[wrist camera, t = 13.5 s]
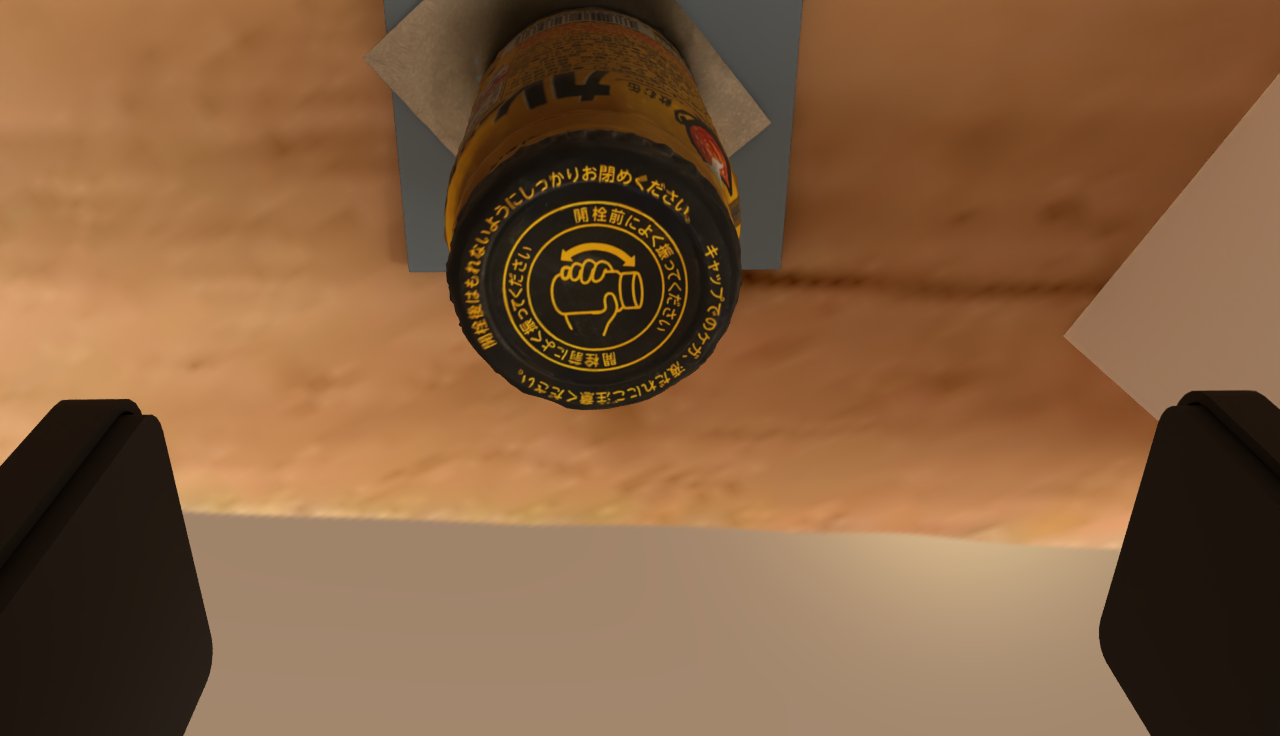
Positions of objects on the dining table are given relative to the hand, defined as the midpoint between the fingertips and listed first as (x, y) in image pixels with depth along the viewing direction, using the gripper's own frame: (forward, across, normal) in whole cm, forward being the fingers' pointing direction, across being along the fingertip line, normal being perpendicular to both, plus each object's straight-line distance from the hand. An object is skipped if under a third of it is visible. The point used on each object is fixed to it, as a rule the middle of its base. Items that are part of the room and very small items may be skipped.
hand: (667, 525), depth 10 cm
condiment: (+21, +1, +1) cm, 21 cm away
